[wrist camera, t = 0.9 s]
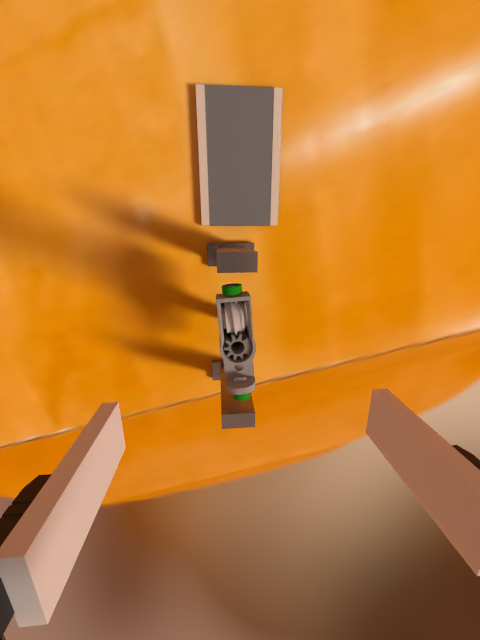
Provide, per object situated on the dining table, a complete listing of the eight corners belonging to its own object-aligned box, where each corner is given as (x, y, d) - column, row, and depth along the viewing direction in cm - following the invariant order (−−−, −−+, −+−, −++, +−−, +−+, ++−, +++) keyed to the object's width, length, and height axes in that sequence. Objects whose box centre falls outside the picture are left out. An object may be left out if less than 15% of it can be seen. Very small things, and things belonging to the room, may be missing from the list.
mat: (196, 87, 24) (195, 84, 24) (281, 91, 25) (282, 87, 24) (202, 225, 28) (201, 225, 27) (276, 225, 28) (277, 225, 28)
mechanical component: (223, 355, 33) (226, 404, 23) (214, 273, 29) (212, 289, 20) (247, 353, 33) (259, 400, 23) (240, 270, 30) (251, 285, 20)
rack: (207, 243, 28) (202, 245, 19) (253, 242, 29) (271, 245, 19) (212, 377, 33) (211, 433, 24) (251, 376, 34) (265, 430, 24)
